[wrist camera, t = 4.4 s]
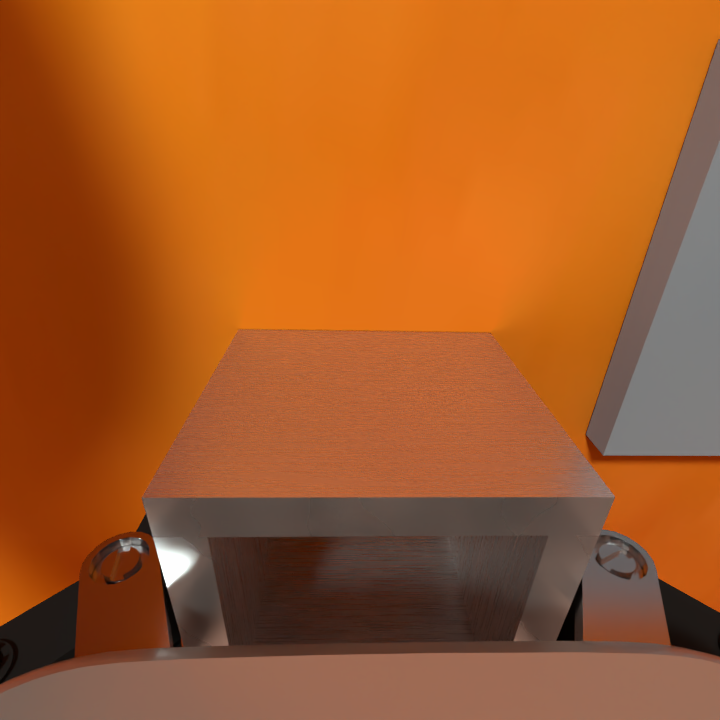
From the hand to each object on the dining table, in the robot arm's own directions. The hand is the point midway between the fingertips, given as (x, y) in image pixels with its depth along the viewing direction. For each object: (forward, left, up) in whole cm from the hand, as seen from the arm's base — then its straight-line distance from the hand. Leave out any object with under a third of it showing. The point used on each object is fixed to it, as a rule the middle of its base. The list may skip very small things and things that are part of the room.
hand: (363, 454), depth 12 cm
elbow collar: (0, +2, -1) cm, 2 cm away
